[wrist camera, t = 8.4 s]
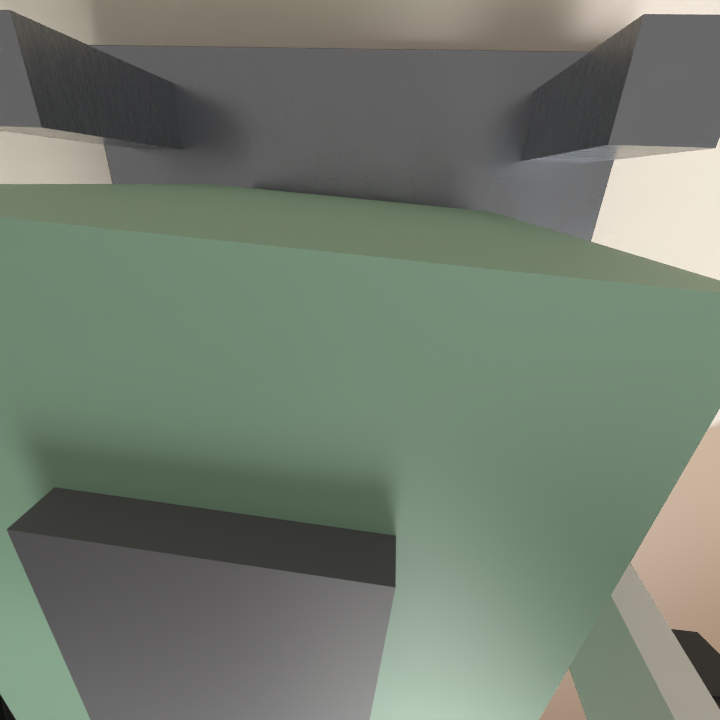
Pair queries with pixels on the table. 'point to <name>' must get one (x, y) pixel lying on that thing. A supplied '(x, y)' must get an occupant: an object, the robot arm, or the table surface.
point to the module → (323, 450)
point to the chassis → (377, 115)
